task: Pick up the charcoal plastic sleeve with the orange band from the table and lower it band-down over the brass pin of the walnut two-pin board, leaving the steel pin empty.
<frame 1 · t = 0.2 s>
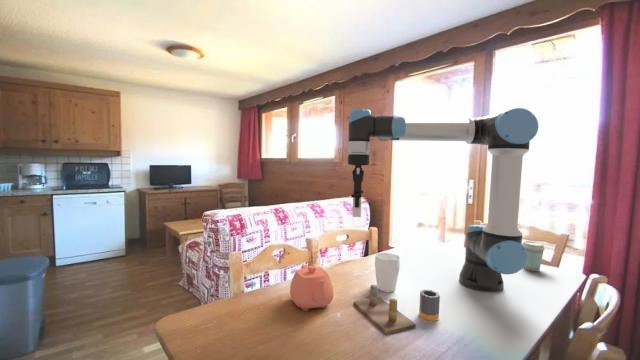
hand: (356, 213, 106), 28 cm above the table, fingers open, 13 cm apart
cup: (386, 288, 109), on the table
sleeve: (428, 316, 90), on the table
teapot: (311, 305, 95), on the table
pin board: (382, 315, 90), on the table
coffee cup: (531, 269, 133), on the table
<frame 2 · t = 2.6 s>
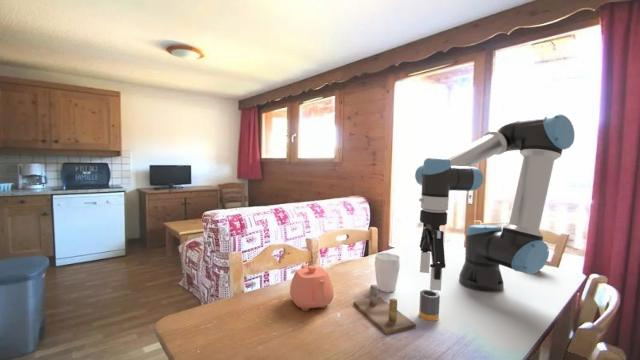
hand: (429, 280, 89), 11 cm above the table, fingers open, 13 cm apart
nothing on the table moved.
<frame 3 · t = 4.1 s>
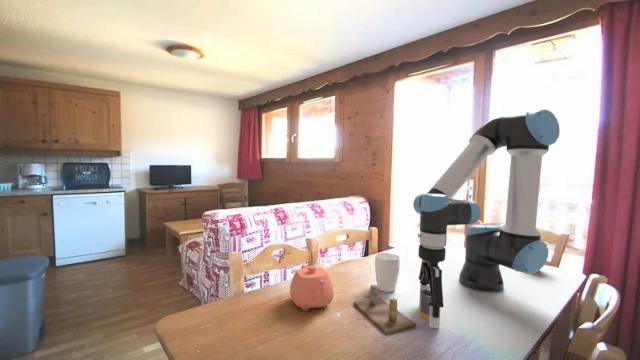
hand: (428, 315, 90), 0 cm above the table, fingers open, 12 cm apart
nothing on the table moved.
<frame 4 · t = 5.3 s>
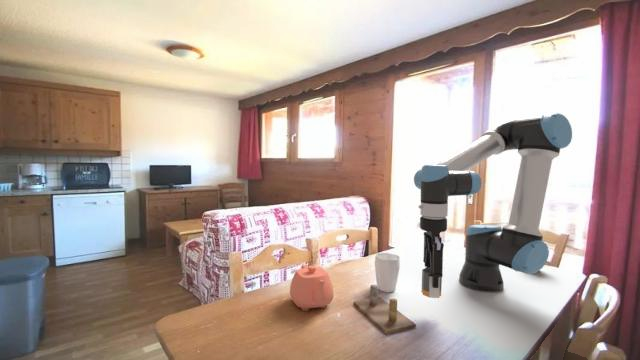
hand: (431, 292, 90), 7 cm above the table, fingers closed on sleeve, 5 cm apart
sleeve: (431, 293, 90), point 7 cm above the table, touching gripper
everything else where it was.
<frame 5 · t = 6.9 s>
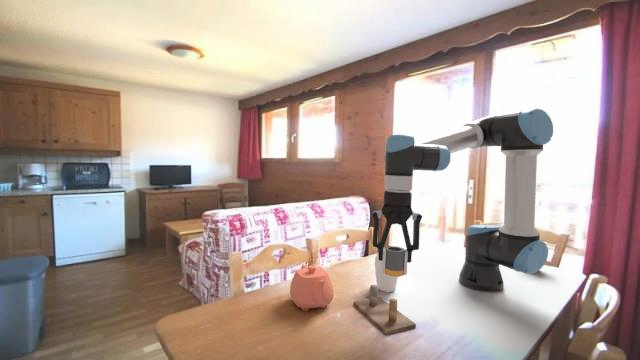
hand: (393, 272, 84), 15 cm above the table, fingers closed on sleeve, 5 cm apart
sleeve: (393, 273, 84), point 15 cm above the table, touching gripper
everything else where it was.
when the fingers open (2 cm above the table, at t = 8.9 s): sleeve stays where it is, resting on pin board.
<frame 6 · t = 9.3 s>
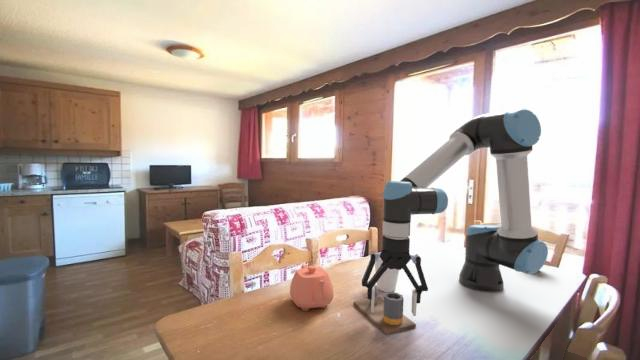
hand: (392, 311, 85), 3 cm above the table, fingers open, 11 cm apart
sleeve: (392, 319, 85), point 1 cm above the table, touching pin board
everything else where it was.
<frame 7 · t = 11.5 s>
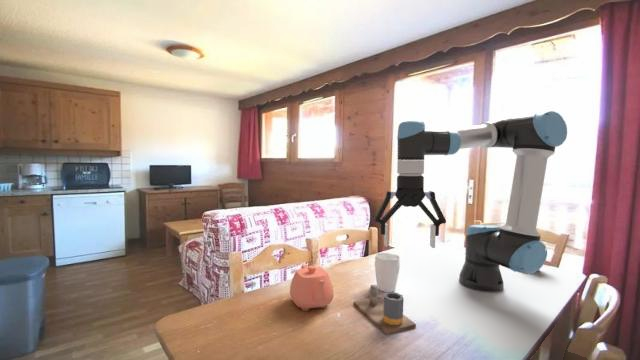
hand: (408, 246, 89), 21 cm above the table, fingers open, 13 cm apart
nothing on the table moved.
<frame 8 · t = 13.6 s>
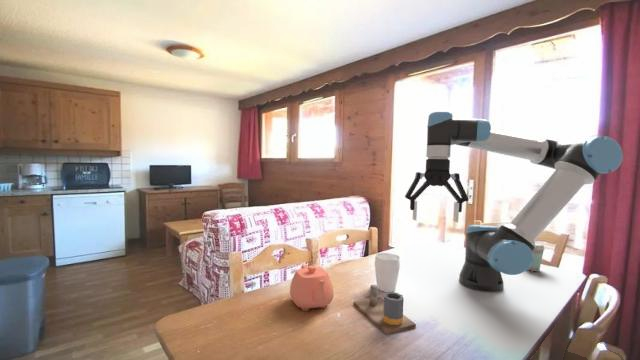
hand: (434, 220, 102), 27 cm above the table, fingers open, 13 cm apart
nothing on the table moved.
at the end: sleeve 0.2 cm from the target spot on the pin board, point 1.0 cm above the pin board's base; sleeve tilted 0°; the gripper is holding nothing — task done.
